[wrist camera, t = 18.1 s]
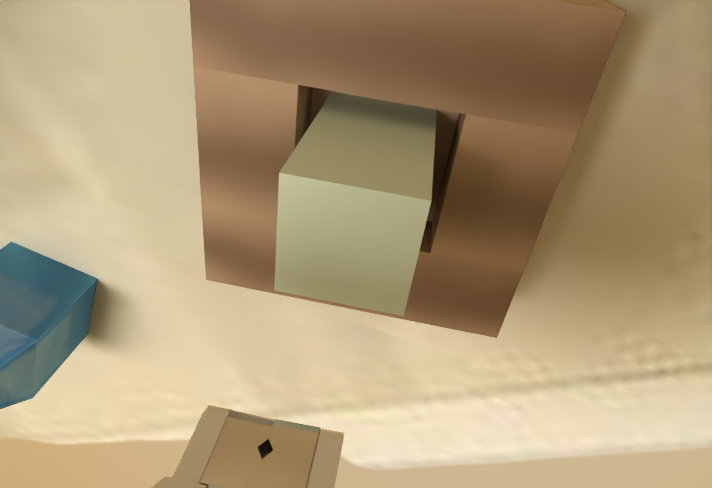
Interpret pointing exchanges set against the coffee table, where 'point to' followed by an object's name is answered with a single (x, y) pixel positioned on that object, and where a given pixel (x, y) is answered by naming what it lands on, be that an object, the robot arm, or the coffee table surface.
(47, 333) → the perfume bottle
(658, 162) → the coffee table surface
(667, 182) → the coffee table surface
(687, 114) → the coffee table surface
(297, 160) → the sage plug
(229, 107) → the walnut stand
